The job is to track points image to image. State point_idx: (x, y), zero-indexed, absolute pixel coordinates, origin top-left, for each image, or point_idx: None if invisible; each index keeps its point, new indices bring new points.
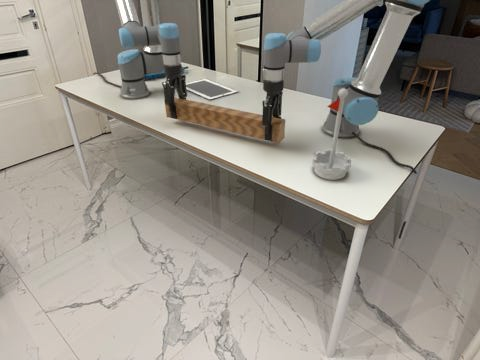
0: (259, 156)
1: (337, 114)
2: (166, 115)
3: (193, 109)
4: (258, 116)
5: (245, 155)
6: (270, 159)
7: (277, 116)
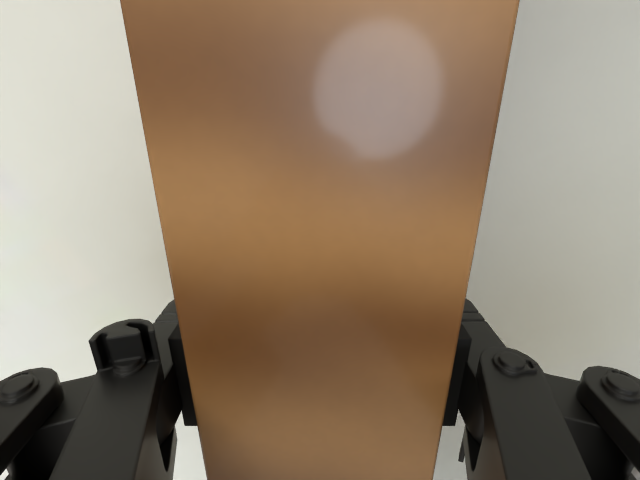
0: (120, 234)
1: None
2: None
3: None
4: (355, 117)
5: (55, 131)
6: (136, 311)
7: (468, 463)
